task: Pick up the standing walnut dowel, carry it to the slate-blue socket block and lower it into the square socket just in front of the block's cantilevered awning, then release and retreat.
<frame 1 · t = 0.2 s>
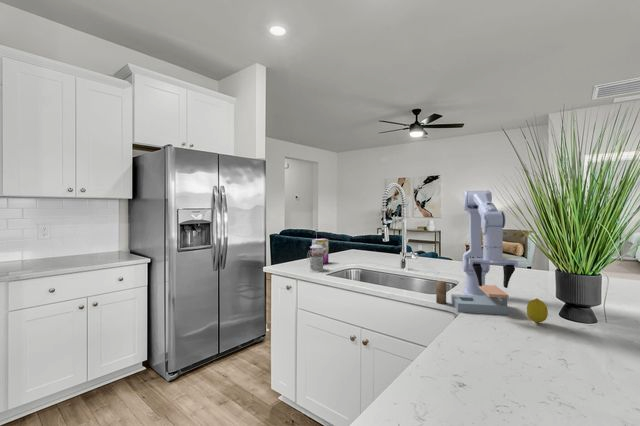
hand: (492, 286, 106), 10 cm above the worktop, fingers open, 7 cm apart
lemon: (536, 324, 98), on the worktop
french press: (315, 270, 186), on the worktop
socket block: (477, 307, 114), on the worktop
peg: (441, 302, 121), on the worktop
candy bar box: (320, 263, 208), on the worktop
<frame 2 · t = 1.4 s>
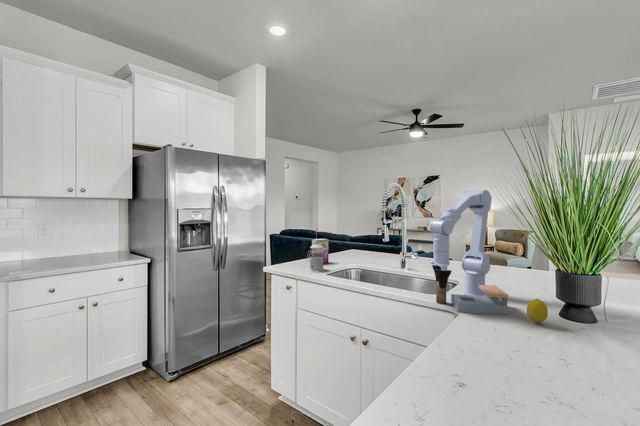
hand: (441, 285, 120), 7 cm above the worktop, fingers open, 7 cm apart
nothing on the worktop moved.
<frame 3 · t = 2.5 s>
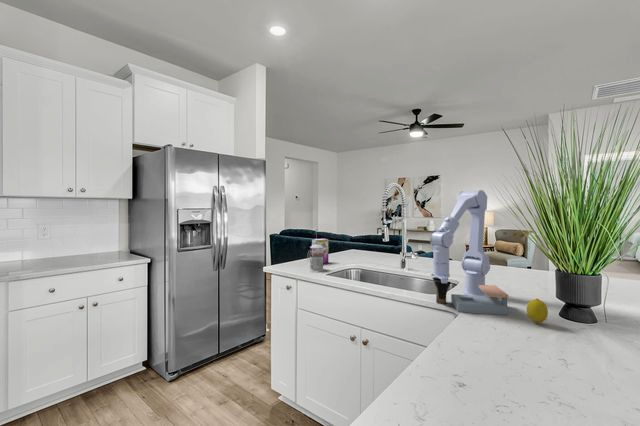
hand: (441, 297, 121), 2 cm above the worktop, fingers closed on peg, 4 cm apart
peg: (441, 302, 121), on the worktop, touching gripper
everything else where it was.
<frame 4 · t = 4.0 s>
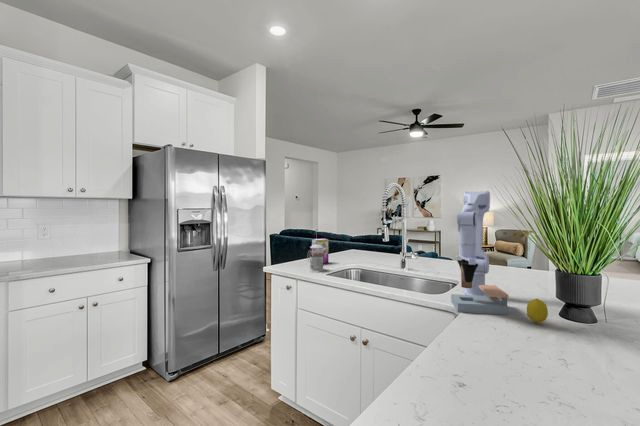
hand: (467, 280, 115), 10 cm above the worktop, fingers closed on peg, 4 cm apart
peg: (466, 286, 115), point 8 cm above the worktop, touching gripper
everything else where it was.
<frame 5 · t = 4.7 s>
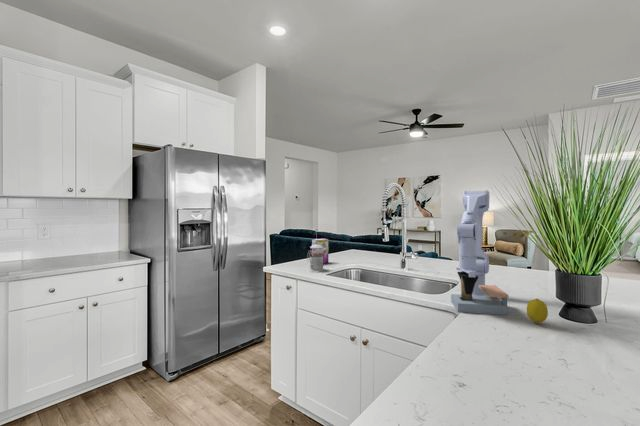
hand: (467, 292, 115), 5 cm above the worktop, fingers closed on peg, 4 cm apart
peg: (466, 298, 115), point 3 cm above the worktop, touching gripper
everything else where it was.
when the fingers open (3 cm above the worktop, at t = 5.4 s): peg drops 1 cm, resting in socket block.
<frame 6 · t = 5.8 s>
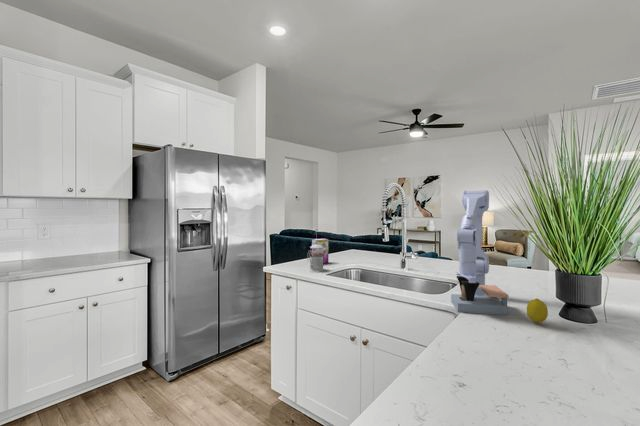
hand: (467, 298, 115), 3 cm above the worktop, fingers open, 7 cm apart
peg: (466, 307, 115), resting in socket block
everything else where it was.
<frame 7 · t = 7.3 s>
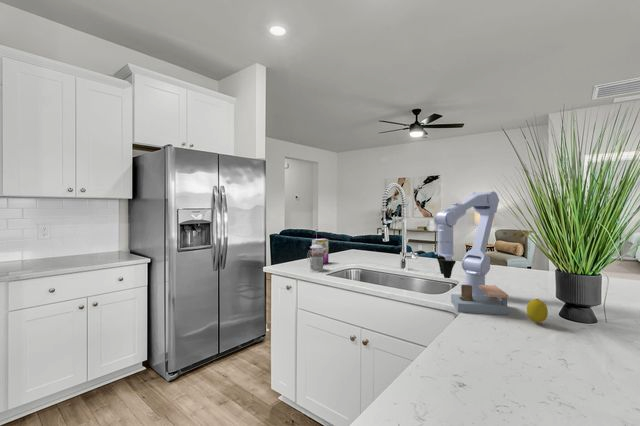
hand: (445, 275, 123), 10 cm above the worktop, fingers open, 7 cm apart
nothing on the worktop moved.
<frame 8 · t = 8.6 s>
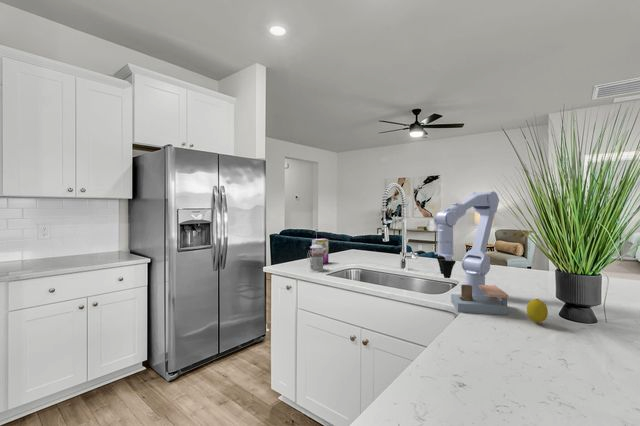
hand: (445, 275, 123), 10 cm above the worktop, fingers open, 7 cm apart
nothing on the worktop moved.
at the end: peg 0.2 cm from the target spot on the socket block, point 0.0 cm above the socket block's base; peg tilted 0°; the gripper is holding nothing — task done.
